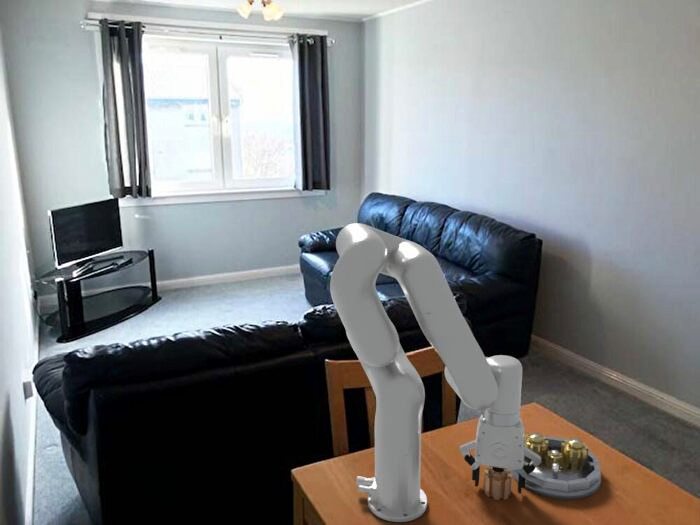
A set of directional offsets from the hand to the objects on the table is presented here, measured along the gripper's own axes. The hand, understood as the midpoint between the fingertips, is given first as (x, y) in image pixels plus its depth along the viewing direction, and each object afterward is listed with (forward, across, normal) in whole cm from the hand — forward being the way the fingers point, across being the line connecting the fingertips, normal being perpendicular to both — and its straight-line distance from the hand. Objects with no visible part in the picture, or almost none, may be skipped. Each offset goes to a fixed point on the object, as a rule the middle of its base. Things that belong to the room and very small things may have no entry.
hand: (498, 486), depth 125 cm
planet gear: (+1, 0, 0) cm, 1 cm away
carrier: (+1, +12, +11) cm, 16 cm away
